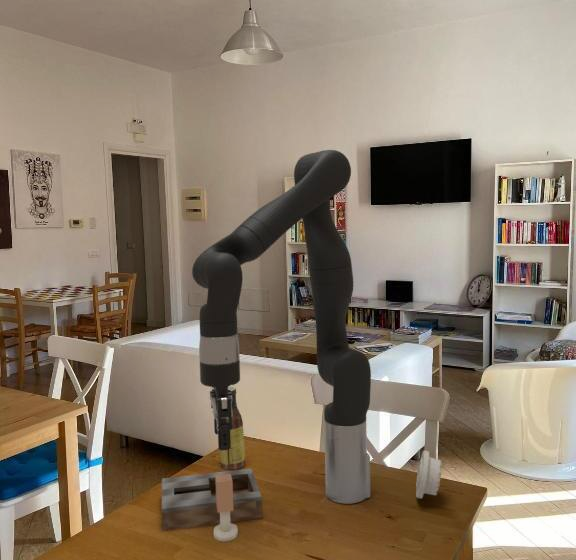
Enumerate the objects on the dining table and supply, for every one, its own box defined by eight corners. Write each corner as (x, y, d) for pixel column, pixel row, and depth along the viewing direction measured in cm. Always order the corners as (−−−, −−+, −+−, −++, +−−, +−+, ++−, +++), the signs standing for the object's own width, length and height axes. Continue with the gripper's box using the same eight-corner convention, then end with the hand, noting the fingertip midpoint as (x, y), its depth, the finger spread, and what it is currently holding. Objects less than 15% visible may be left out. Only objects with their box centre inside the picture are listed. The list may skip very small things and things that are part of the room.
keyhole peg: (236, 527, 113) (234, 471, 112) (239, 539, 109) (237, 481, 108) (212, 530, 112) (210, 474, 111) (214, 543, 108) (212, 484, 107)
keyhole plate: (252, 487, 130) (251, 468, 130) (262, 518, 116) (261, 496, 116) (162, 498, 126) (161, 478, 125) (162, 531, 112) (161, 509, 112)
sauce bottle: (248, 462, 144) (246, 385, 142) (241, 472, 138) (238, 392, 136) (224, 460, 146) (221, 384, 144) (215, 470, 140) (212, 391, 138)
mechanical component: (414, 484, 129) (422, 443, 128) (434, 488, 128) (442, 447, 127) (414, 505, 120) (422, 461, 118) (435, 510, 119) (444, 465, 117)
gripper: (244, 365, 101) (247, 453, 102) (234, 348, 115) (237, 426, 116) (202, 368, 99) (205, 457, 101) (197, 351, 113) (200, 430, 115)
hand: (222, 441), depth 109 cm, fingers open, 8 cm apart
